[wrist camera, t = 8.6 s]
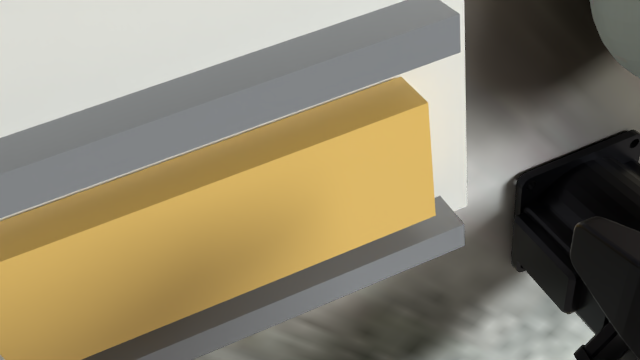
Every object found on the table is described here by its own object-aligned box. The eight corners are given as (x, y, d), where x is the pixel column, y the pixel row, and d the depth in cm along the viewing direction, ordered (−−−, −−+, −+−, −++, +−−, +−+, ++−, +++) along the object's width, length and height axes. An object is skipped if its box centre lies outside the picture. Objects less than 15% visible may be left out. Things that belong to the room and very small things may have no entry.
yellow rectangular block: (401, 76, 15) (428, 102, 14) (411, 186, 18) (435, 215, 17) (-57, 241, 14) (-68, 287, 12) (28, 337, 16) (26, 382, 15)
